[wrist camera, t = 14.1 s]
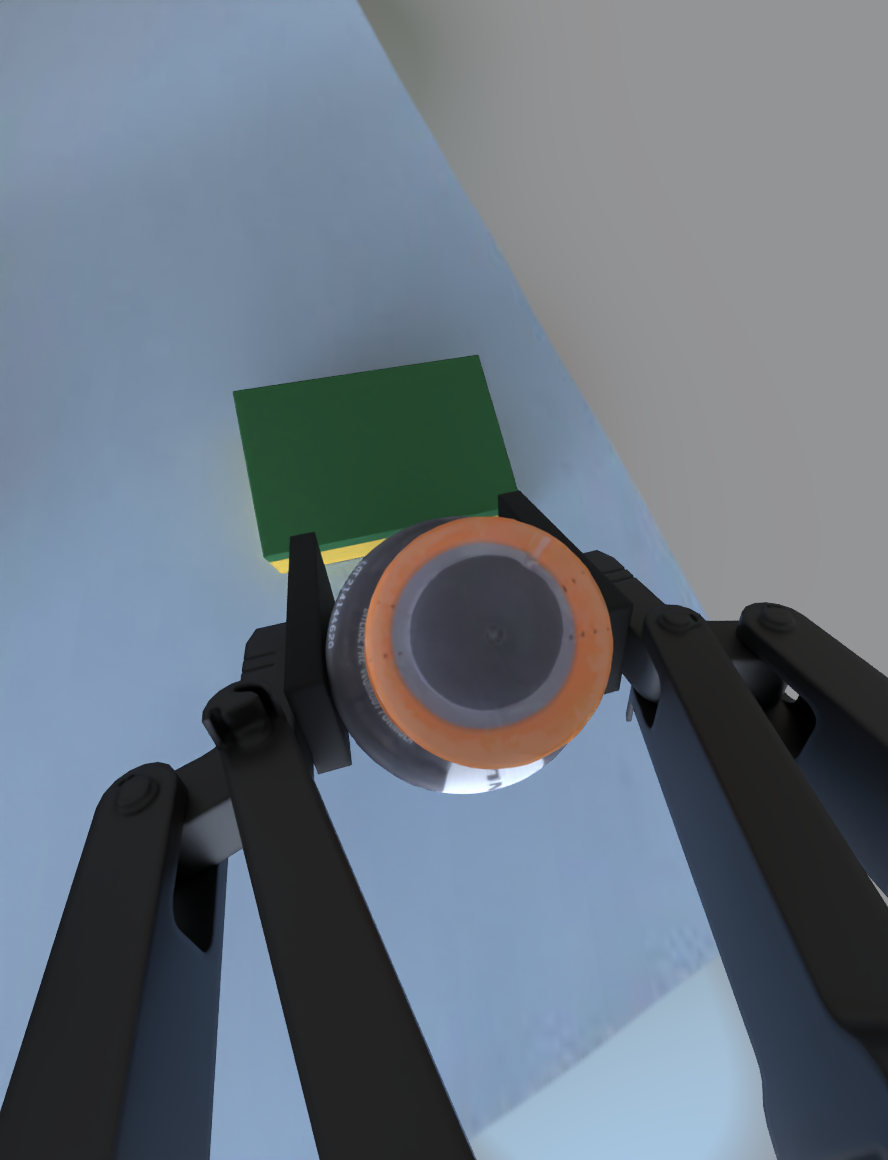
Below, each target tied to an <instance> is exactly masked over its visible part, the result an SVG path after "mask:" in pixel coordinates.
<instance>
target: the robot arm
mask: <svg viewBox="0 0 888 1160" xmlns="http://www.w3.org/2000/svg"><path fill="white" fill-rule="evenodd" d="M498 517H504V518H509V519H514V520H516V521H519V522H522V523H525V524H529V525H532V526H534V527H536V528H539V529H541V530H543V531H545V532H547V533H549V534H550V535H552V536H553V537H555V538H557V539H558V540H559V541H561V542H562V543H563V544H565V545H566V546H567V547H568V548H569V549H570V550H571V551H572V552H573V553H574V554H575V555H576V556H577V557H578V558H579V559H580V560H581V562H582V563H583V564H584V565H585V566H586V567H587V568H588V570H589V572H590V573H591V575H592V577H593V579H594V580H595V582H596V584H597V585H598V587H599V589H600V591H601V594H602V596H603V598H604V601H605V603H606V606H607V610H608V613H609V617H610V623H611V629H612V635H613V655H612V663H611V671H610V675H609V679H608V683H607V686H606V689H605V692H604V694H607V693H611V692H614V691H618V690H619V688H620V682H621V676H622V674H623V675H624V676H625V677H626V679H627V680H628V681H629V682H630V684H631V690H630V695H629V701H628V706H627V711H626V721H631V720H632V715H633V710H634V712H635V715H636V718H637V721H638V723H639V726H640V729H641V732H642V735H643V738H644V741H645V743H646V746H647V749H648V752H649V755H650V758H651V760H652V763H653V766H654V769H655V772H656V775H657V777H658V780H659V783H660V786H661V789H662V792H663V794H664V797H665V800H666V803H667V806H668V809H669V811H670V814H671V817H672V820H673V823H674V826H675V828H676V831H677V834H678V837H679V840H680V843H681V845H682V848H683V851H684V854H685V857H686V860H687V862H688V865H689V868H690V871H691V874H692V877H693V879H694V882H695V885H696V888H697V891H698V894H699V896H700V899H701V902H702V905H703V908H704V911H705V913H706V916H707V919H708V922H709V925H710V928H711V930H712V933H713V936H714V939H715V942H716V945H717V948H718V950H719V953H720V956H721V959H722V962H723V964H724V967H725V970H726V973H727V976H728V979H729V981H730V984H731V987H732V990H733V993H734V996H735V999H736V1001H737V1004H738V1007H739V1010H740V1013H741V1016H742V1018H743V1021H744V1024H745V1027H746V1030H747V1032H748V1035H749V1038H750V1041H751V1044H752V1047H753V1049H754V1052H755V1055H756V1058H757V1062H758V1065H759V1068H760V1073H761V1078H762V1088H763V1107H764V1112H765V1117H766V1123H767V1127H768V1130H769V1134H770V1137H771V1140H772V1144H773V1148H774V1151H775V1154H776V1157H777V1160H888V907H887V905H886V903H885V902H884V900H883V899H882V897H881V896H880V894H879V892H878V891H877V889H876V888H875V886H874V884H873V883H872V881H871V880H870V878H871V879H872V880H873V881H874V882H875V883H876V885H877V886H878V887H879V888H880V889H881V890H882V891H883V893H884V894H885V895H886V896H887V897H888V678H887V677H886V676H885V675H883V674H882V673H881V672H879V671H878V670H877V669H875V668H873V666H871V665H870V664H869V663H867V662H866V661H865V660H863V659H862V658H860V657H859V656H858V655H856V654H855V653H854V652H852V651H851V650H850V649H848V648H847V647H846V646H844V645H843V644H842V643H840V642H839V641H838V640H836V639H835V638H833V637H832V636H831V635H829V634H828V633H827V632H825V631H824V630H823V629H821V628H820V627H819V626H817V625H816V624H815V623H813V622H812V621H810V620H809V619H808V618H807V617H805V616H804V615H802V614H801V613H799V612H797V611H795V610H794V609H792V608H789V607H786V606H782V605H780V604H774V603H766V602H765V603H754V604H751V605H749V606H746V607H745V609H744V610H743V611H742V613H741V616H740V620H739V621H706V620H705V619H704V618H703V617H702V616H701V615H700V614H698V613H696V612H695V611H693V610H691V609H689V608H686V607H682V606H679V605H667V604H664V603H663V602H662V601H661V600H660V599H659V598H657V597H656V596H655V595H654V594H653V593H652V592H651V591H650V590H649V589H648V588H646V587H645V586H644V585H643V584H642V583H641V582H640V581H639V580H638V579H637V578H634V577H633V575H632V574H631V573H630V572H629V571H628V570H627V569H626V570H625V569H624V567H623V566H622V565H621V564H620V563H619V562H618V561H617V560H616V559H614V558H613V557H611V556H609V555H607V554H605V553H602V552H600V551H598V550H596V551H591V552H587V553H582V552H581V551H580V550H579V549H578V548H577V547H576V546H575V545H574V544H573V543H572V542H571V541H570V540H569V539H568V538H567V537H566V536H565V535H564V534H563V533H562V532H561V531H560V530H559V529H558V528H557V527H556V526H555V525H554V524H553V523H552V522H551V521H550V520H549V519H548V518H547V517H546V516H545V515H544V514H543V513H542V512H541V511H540V510H539V509H538V508H537V507H536V506H535V505H534V504H533V503H532V502H530V501H529V500H528V499H527V498H526V497H525V496H524V495H523V494H522V493H521V492H520V491H514V492H509V493H504V494H499V495H498ZM334 605H335V600H334V597H333V593H332V590H331V586H330V583H329V579H328V576H327V572H326V569H325V565H324V562H323V558H322V555H321V551H320V548H319V544H318V541H317V537H316V534H315V531H314V532H309V533H304V534H299V535H294V536H290V546H289V570H288V595H287V619H286V622H285V623H280V624H276V625H272V626H267V627H263V628H258V629H256V630H255V631H254V633H253V634H252V636H251V637H250V639H249V640H248V642H247V643H246V647H245V654H244V661H243V667H242V673H243V674H241V681H238V682H235V683H232V684H230V685H229V686H227V687H225V688H223V689H222V690H220V691H219V692H218V693H217V694H215V695H214V696H213V697H212V698H211V699H210V700H209V701H208V703H207V705H206V707H205V708H204V710H203V715H202V723H203V725H204V726H205V728H206V730H207V731H208V733H209V735H210V736H211V738H212V740H213V741H214V743H215V744H216V747H215V748H214V749H212V750H211V751H210V752H208V753H206V754H205V755H203V756H202V757H200V758H198V759H196V760H194V761H192V762H190V763H188V764H186V765H184V766H183V767H181V768H179V769H177V770H175V771H174V769H173V768H172V767H171V766H170V765H169V764H165V763H161V762H155V763H149V764H144V765H141V766H139V767H137V768H135V769H132V770H130V771H128V772H127V773H126V774H124V775H123V776H122V777H120V778H119V779H117V780H116V781H115V782H114V783H113V784H112V785H111V786H110V787H109V788H108V790H107V791H106V792H105V793H104V794H103V796H102V798H101V800H100V802H99V803H98V805H97V807H96V810H95V813H94V816H93V820H92V823H91V826H90V829H89V832H88V835H87V839H86V842H85V845H84V848H83V851H82V855H81V858H80V861H79V864H78V867H77V870H76V874H75V877H74V880H73V883H72V886H71V889H70V893H69V896H68V899H67V902H66V905H65V908H64V912H63V915H62V918H61V921H60V924H59V927H58V931H57V934H56V937H55V940H54V943H53V946H52V950H51V953H50V956H49V959H48V962H47V965H46V969H45V972H44V975H43V978H42V981H41V984H40V988H39V991H38V994H37V997H36V1000H35V1003H34V1007H33V1010H32V1013H31V1016H30V1019H29V1022H28V1026H27V1029H26V1032H25V1035H24V1038H23V1041H22V1045H21V1048H20V1051H19V1054H18V1057H17V1060H16V1064H15V1067H14V1070H13V1073H12V1076H11V1079H10V1083H9V1086H8V1089H7V1092H6V1095H5V1098H4V1102H3V1105H2V1108H1V1111H0V1160H210V1144H211V1128H212V1111H213V1095H214V1078H215V1062H216V1046H217V1029H218V1013H219V997H220V980H221V964H222V947H223V931H224V915H225V898H226V882H227V866H228V857H229V856H231V855H233V854H234V853H236V852H237V851H239V850H241V849H242V848H243V851H244V855H245V859H246V863H247V867H248V871H249V875H250V879H251V883H252V887H253V891H254V895H255V899H256V903H257V907H258V911H259V915H260V920H261V924H262V928H263V932H264V936H265V940H266V944H267V948H268V952H269V956H270V960H271V964H272V968H273V972H274V976H275V980H276V984H277V989H278V993H279V997H280V1001H281V1005H282V1009H283V1013H284V1017H285V1021H286V1025H287V1029H288V1033H289V1037H290V1041H291V1045H292V1049H293V1053H294V1058H295V1062H296V1066H297V1070H298V1074H299V1078H300V1082H301V1086H302V1090H303V1094H304V1098H305V1102H306V1106H307V1110H308V1114H309V1118H310V1122H311V1127H312V1131H313V1135H314V1139H315V1143H316V1147H317V1151H318V1155H319V1159H320V1160H476V1158H475V1155H474V1153H473V1150H472V1148H471V1146H470V1143H469V1141H468V1139H467V1136H466V1134H465V1132H464V1129H463V1127H462V1125H461V1122H460V1120H459V1118H458V1115H457V1113H456V1111H455V1108H454V1106H453V1104H452V1101H451V1099H450V1097H449V1094H448V1092H447V1090H446V1087H445V1085H444V1083H443V1080H442V1078H441V1076H440V1073H439V1071H438V1069H437V1066H436V1064H435V1062H434V1059H433V1057H432V1055H431V1052H430V1050H429V1048H428V1045H427V1043H426V1041H425V1038H424V1036H423V1034H422V1031H421V1029H420V1027H419V1024H418V1022H417V1020H416V1017H415V1015H414V1013H413V1010H412V1008H411V1006H410V1003H409V1001H408V999H407V996H406V994H405V992H404V989H403V987H402V985H401V982H400V980H399V978H398V975H397V973H396V971H395V968H394V966H393V964H392V961H391V959H390V957H389V954H388V952H387V950H386V947H385V945H384V943H383V940H382V938H381V936H380V933H379V931H378V929H377V926H376V924H375V922H374V919H373V917H372V915H371V912H370V910H369V907H368V905H367V903H366V900H365V898H364V896H363V893H362V891H361V889H360V886H359V884H358V882H357V879H356V877H355V875H354V872H353V870H352V868H351V865H350V863H349V861H348V858H347V856H346V854H345V851H344V849H343V847H342V844H341V842H340V840H339V837H338V835H337V833H336V830H335V828H334V826H333V823H332V821H331V819H330V816H329V814H328V812H327V809H326V807H325V805H324V802H323V800H322V798H321V795H320V793H319V791H318V788H317V786H316V784H315V782H314V765H315V767H316V769H317V772H318V774H321V773H325V772H328V771H332V770H335V769H339V768H343V767H346V766H350V765H352V761H351V751H350V742H349V732H348V730H347V728H346V726H345V724H344V723H343V721H342V719H341V717H340V715H339V713H338V711H337V709H336V706H335V704H334V701H333V698H332V695H331V690H330V686H329V681H328V675H327V668H326V654H325V648H326V639H327V631H328V626H329V621H330V617H331V613H332V610H333V608H334ZM787 685H789V686H790V687H791V688H792V689H793V690H794V691H796V692H797V693H798V694H799V697H798V699H797V700H793V699H792V698H790V697H789V696H788V695H787V694H786V693H785V689H786V687H787ZM313 762H314V764H313ZM867 874H868V875H867ZM868 876H869V877H870V878H869V877H868Z"/></svg>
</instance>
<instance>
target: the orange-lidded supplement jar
mask: <svg viewBox="0 0 888 1160" xmlns="http://www.w3.org/2000/svg"><path fill="white" fill-rule="evenodd" d="M325 654H326V668H327V675H328V681H329V686H330V690H331V695H332V698H333V701H334V704H335V706H336V709H337V711H338V713H339V715H340V717H341V719H342V721H343V723H344V724H345V726H346V728H347V730H348V731H349V733H350V735H351V736H352V737H353V738H354V740H355V741H356V743H357V744H358V745H359V747H360V748H361V749H362V750H363V751H364V752H365V753H366V754H367V755H368V756H369V757H371V758H372V759H373V760H374V761H375V762H376V763H377V764H379V765H380V766H381V767H383V768H384V769H386V770H387V771H389V772H390V773H392V774H393V775H395V776H396V777H398V778H400V779H402V780H403V781H405V782H407V783H409V784H411V785H414V786H417V787H421V788H424V789H427V790H431V791H437V792H443V793H457V794H471V793H481V792H486V791H492V790H496V789H500V788H503V787H506V786H509V785H511V784H514V783H517V782H519V781H521V780H523V779H525V778H527V777H529V776H530V775H532V774H533V773H535V772H537V771H538V770H539V769H540V768H542V767H544V766H545V765H546V764H548V763H549V762H550V761H551V760H553V759H554V758H555V757H556V756H557V755H558V754H559V752H560V751H561V750H562V749H563V748H564V747H565V746H566V745H567V744H568V743H569V742H570V741H571V740H572V739H573V738H574V737H575V736H576V735H577V734H578V733H579V732H580V731H581V730H582V728H583V727H584V726H585V724H586V723H587V722H588V720H589V719H590V718H591V716H592V715H593V714H594V712H595V710H596V709H597V707H598V705H599V704H600V701H601V699H602V696H603V694H604V692H605V689H606V686H607V683H608V679H609V675H610V671H611V663H612V655H613V635H612V629H611V623H610V617H609V613H608V610H607V606H606V603H605V601H604V598H603V596H602V594H601V591H600V589H599V587H598V585H597V584H596V582H595V580H594V579H593V577H592V575H591V573H590V572H589V570H588V568H587V567H586V566H585V565H584V564H583V563H582V562H581V560H580V559H579V558H578V557H577V556H576V555H575V554H574V553H573V552H572V551H571V550H570V549H569V548H568V547H567V546H566V545H565V544H563V543H562V542H561V541H559V540H558V539H557V538H555V537H553V536H552V535H550V534H549V533H547V532H545V531H543V530H541V529H539V528H536V527H534V526H532V525H529V524H525V523H522V522H519V521H516V520H514V519H509V518H504V517H468V516H451V517H442V518H436V519H431V520H426V521H423V522H420V523H417V524H415V525H412V526H410V527H407V528H405V529H403V530H400V531H398V532H397V533H395V534H394V535H392V536H390V537H388V538H387V539H385V540H384V541H383V542H381V543H380V544H379V545H378V546H376V547H375V548H374V549H372V550H371V551H370V552H369V553H368V554H367V555H366V556H365V557H364V558H363V559H362V561H361V562H360V563H359V564H358V565H357V566H356V568H355V569H354V570H353V571H352V573H351V574H350V576H349V577H348V579H347V581H346V582H345V584H344V586H343V587H342V589H341V591H340V593H339V595H338V597H337V600H336V602H335V605H334V608H333V610H332V613H331V617H330V621H329V626H328V631H327V639H326V648H325Z"/></svg>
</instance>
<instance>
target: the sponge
mask: <svg viewBox="0 0 888 1160" xmlns="http://www.w3.org/2000/svg"><path fill="white" fill-rule="evenodd" d="M233 396H234V401H235V407H236V412H237V417H238V423H239V428H240V434H241V439H242V444H243V450H244V455H245V460H246V466H247V471H248V476H249V482H250V487H251V492H252V498H253V503H254V509H255V514H256V519H257V525H258V530H259V535H260V541H261V546H262V551H263V557H264V558H265V559H266V560H267V561H268V562H270V563H271V564H272V565H273V566H274V567H275V568H276V569H277V570H278V571H279V572H280V573H282V574H283V573H287V572H288V570H289V546H290V536H294V535H299V534H304V533H309V532H314V531H315V534H316V537H317V541H318V544H319V548H320V551H321V555H322V558H323V562H324V565H325V564H330V563H335V562H340V561H344V560H349V559H354V558H359V557H363V556H366V555H367V554H368V553H369V552H370V551H371V550H372V549H374V548H375V547H376V546H378V545H379V544H380V543H381V542H383V541H384V540H385V539H387V538H388V537H390V536H392V535H394V534H395V533H397V532H398V531H400V530H403V529H405V528H407V527H410V526H412V525H415V524H417V523H420V522H423V521H426V520H431V519H436V518H442V517H451V516H468V517H498V495H499V494H504V493H509V492H514V491H518V490H517V486H516V483H515V479H514V476H513V472H512V469H511V466H510V462H509V459H508V455H507V452H506V448H505V445H504V441H503V438H502V435H501V431H500V428H499V424H498V421H497V417H496V414H495V411H494V407H493V404H492V400H491V397H490V393H489V390H488V386H487V383H486V380H485V376H484V373H483V369H482V366H481V362H480V359H479V356H478V355H473V356H466V357H460V358H453V359H446V360H439V361H433V362H426V363H419V364H413V365H406V366H399V367H392V368H386V369H379V370H372V371H366V372H359V373H352V374H345V375H339V376H332V377H325V378H319V379H312V380H305V381H298V382H292V383H285V384H278V385H271V386H265V387H258V388H251V389H245V390H238V391H233Z"/></svg>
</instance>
